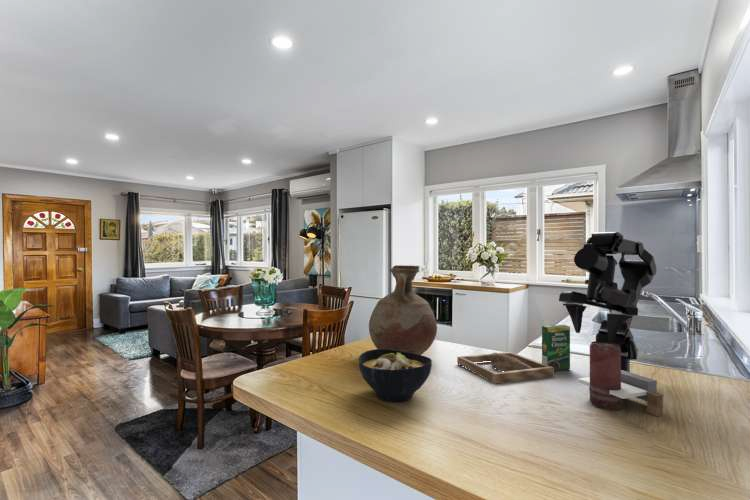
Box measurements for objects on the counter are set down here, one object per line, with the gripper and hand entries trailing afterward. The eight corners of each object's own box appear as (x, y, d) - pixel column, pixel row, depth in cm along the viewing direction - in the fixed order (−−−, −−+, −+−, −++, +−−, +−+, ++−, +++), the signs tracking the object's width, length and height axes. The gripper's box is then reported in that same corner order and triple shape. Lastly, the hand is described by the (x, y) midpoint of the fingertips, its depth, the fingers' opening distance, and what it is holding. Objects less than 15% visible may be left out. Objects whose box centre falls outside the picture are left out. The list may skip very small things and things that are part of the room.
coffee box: (546, 371, 109) (547, 326, 109) (540, 368, 112) (541, 324, 112) (570, 370, 111) (571, 326, 111) (563, 367, 114) (564, 324, 114)
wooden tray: (510, 359, 121) (510, 351, 121) (553, 376, 105) (553, 367, 105) (457, 364, 114) (457, 356, 114) (495, 383, 98) (495, 374, 98)
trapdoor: (610, 384, 94) (611, 366, 94) (660, 401, 83) (660, 381, 83) (576, 388, 90) (577, 370, 90) (624, 407, 79) (624, 387, 79)
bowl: (392, 378, 100) (392, 341, 100) (445, 396, 88) (446, 354, 88) (343, 393, 88) (344, 351, 88) (396, 418, 76) (398, 369, 76)
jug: (429, 350, 130) (431, 264, 130) (443, 370, 108) (446, 267, 108) (367, 349, 128) (369, 263, 129) (369, 369, 107) (371, 265, 107)
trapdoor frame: (594, 389, 95) (595, 372, 95) (662, 415, 80) (663, 394, 80) (589, 390, 94) (589, 372, 94) (656, 416, 80) (657, 395, 80)
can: (582, 400, 88) (582, 340, 88) (608, 399, 88) (607, 340, 88) (600, 410, 82) (600, 346, 82) (627, 409, 82) (627, 346, 82)
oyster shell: (526, 378, 103) (526, 360, 103) (483, 368, 111) (484, 352, 111) (536, 371, 110) (537, 354, 110) (496, 362, 118) (496, 346, 118)
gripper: (589, 268, 90) (581, 332, 88) (659, 284, 92) (653, 347, 90) (561, 271, 101) (553, 328, 99) (624, 285, 103) (617, 342, 101)
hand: (594, 336), depth 97 cm, fingers open, 9 cm apart
